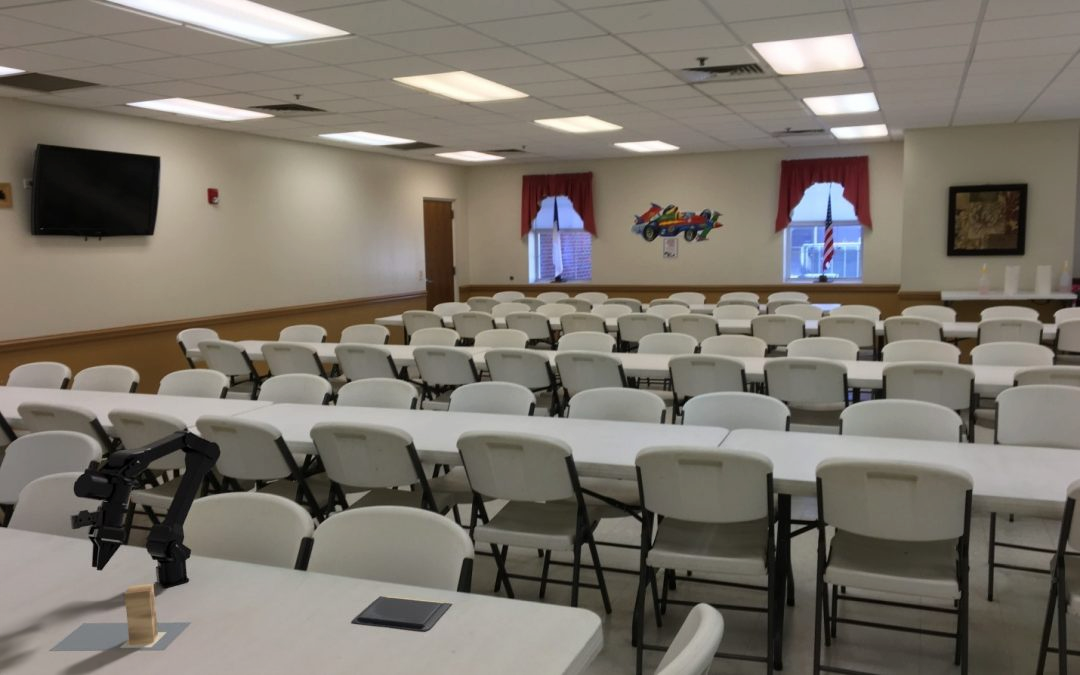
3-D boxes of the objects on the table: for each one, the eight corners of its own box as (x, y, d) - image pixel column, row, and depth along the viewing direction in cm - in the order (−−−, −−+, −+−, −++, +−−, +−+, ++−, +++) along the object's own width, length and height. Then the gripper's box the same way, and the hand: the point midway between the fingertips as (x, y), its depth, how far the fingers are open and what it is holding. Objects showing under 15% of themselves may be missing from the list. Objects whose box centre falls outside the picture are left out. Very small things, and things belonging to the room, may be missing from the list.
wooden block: (134, 637, 188) (129, 586, 187) (157, 634, 190) (153, 583, 188) (129, 645, 185) (124, 593, 183) (154, 642, 186) (149, 590, 184)
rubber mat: (49, 652, 184) (48, 650, 183) (83, 625, 196) (83, 622, 196) (164, 652, 182) (164, 649, 182) (191, 624, 195) (191, 621, 195)
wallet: (348, 617, 193) (380, 590, 208) (348, 625, 194) (380, 598, 208) (426, 628, 187) (454, 599, 201) (426, 636, 187) (454, 607, 202)
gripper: (74, 497, 207) (55, 561, 203) (82, 498, 192) (62, 567, 187) (122, 504, 213) (105, 567, 208) (134, 505, 197) (116, 573, 193)
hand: (96, 568), depth 199 cm, fingers open, 9 cm apart
